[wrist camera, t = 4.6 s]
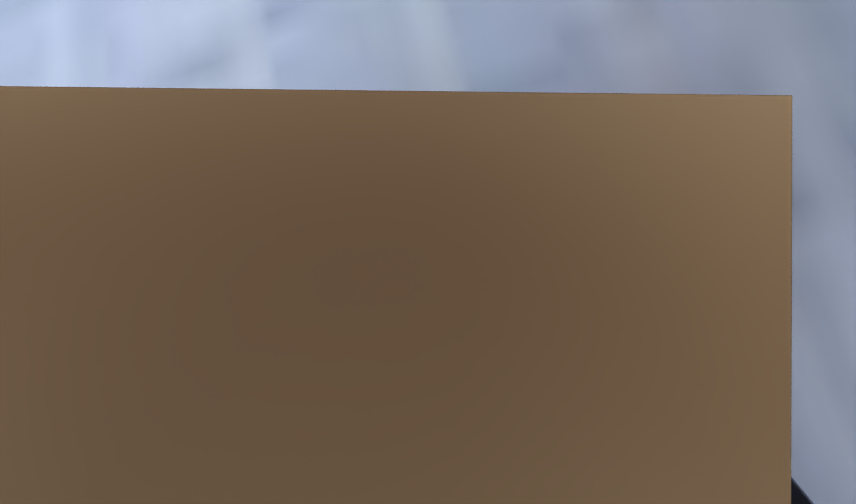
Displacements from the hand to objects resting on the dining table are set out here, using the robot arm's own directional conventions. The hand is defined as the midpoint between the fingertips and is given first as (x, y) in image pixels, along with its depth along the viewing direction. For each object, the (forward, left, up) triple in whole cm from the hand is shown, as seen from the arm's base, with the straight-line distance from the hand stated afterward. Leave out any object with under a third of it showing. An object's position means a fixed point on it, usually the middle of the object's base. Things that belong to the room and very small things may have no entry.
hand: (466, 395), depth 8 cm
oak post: (-1, -1, -7) cm, 7 cm away
